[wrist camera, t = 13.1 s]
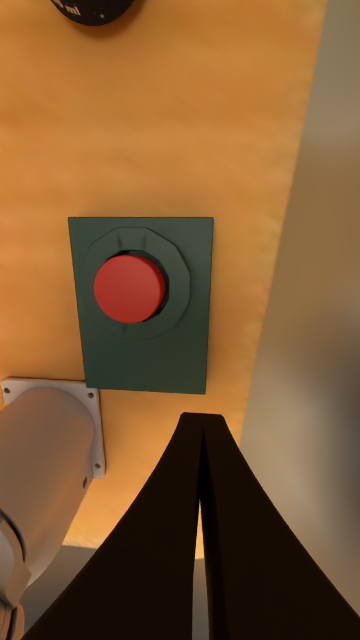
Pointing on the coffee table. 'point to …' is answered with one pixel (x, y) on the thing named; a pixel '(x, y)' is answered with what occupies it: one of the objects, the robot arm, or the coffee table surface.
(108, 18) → the beverage can
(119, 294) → the red button
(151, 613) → the robot arm
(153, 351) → the button housing
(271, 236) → the coffee table surface
